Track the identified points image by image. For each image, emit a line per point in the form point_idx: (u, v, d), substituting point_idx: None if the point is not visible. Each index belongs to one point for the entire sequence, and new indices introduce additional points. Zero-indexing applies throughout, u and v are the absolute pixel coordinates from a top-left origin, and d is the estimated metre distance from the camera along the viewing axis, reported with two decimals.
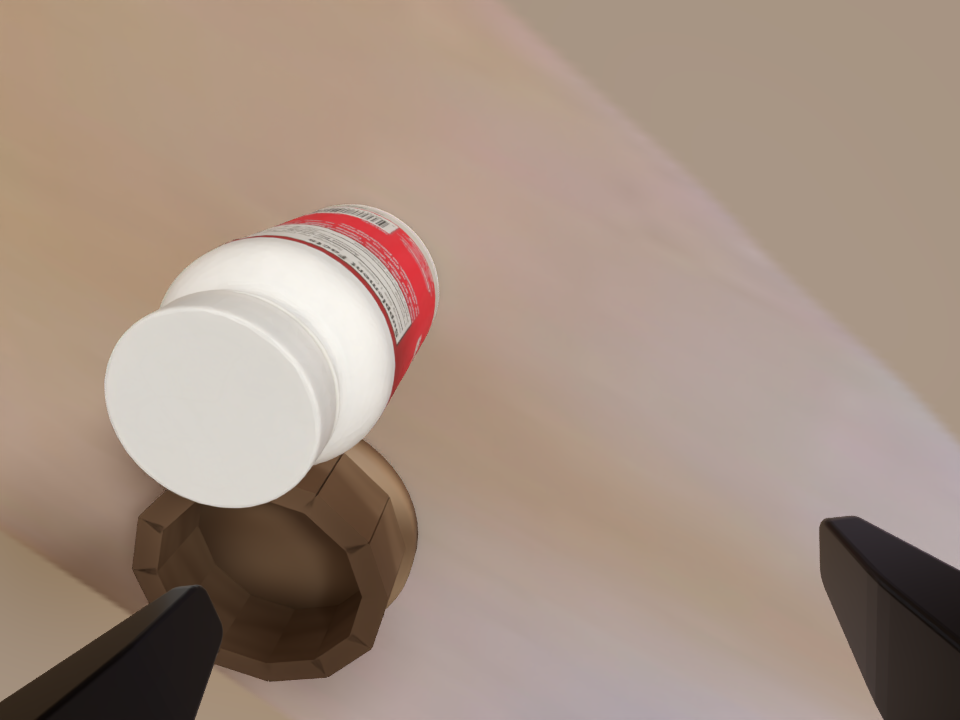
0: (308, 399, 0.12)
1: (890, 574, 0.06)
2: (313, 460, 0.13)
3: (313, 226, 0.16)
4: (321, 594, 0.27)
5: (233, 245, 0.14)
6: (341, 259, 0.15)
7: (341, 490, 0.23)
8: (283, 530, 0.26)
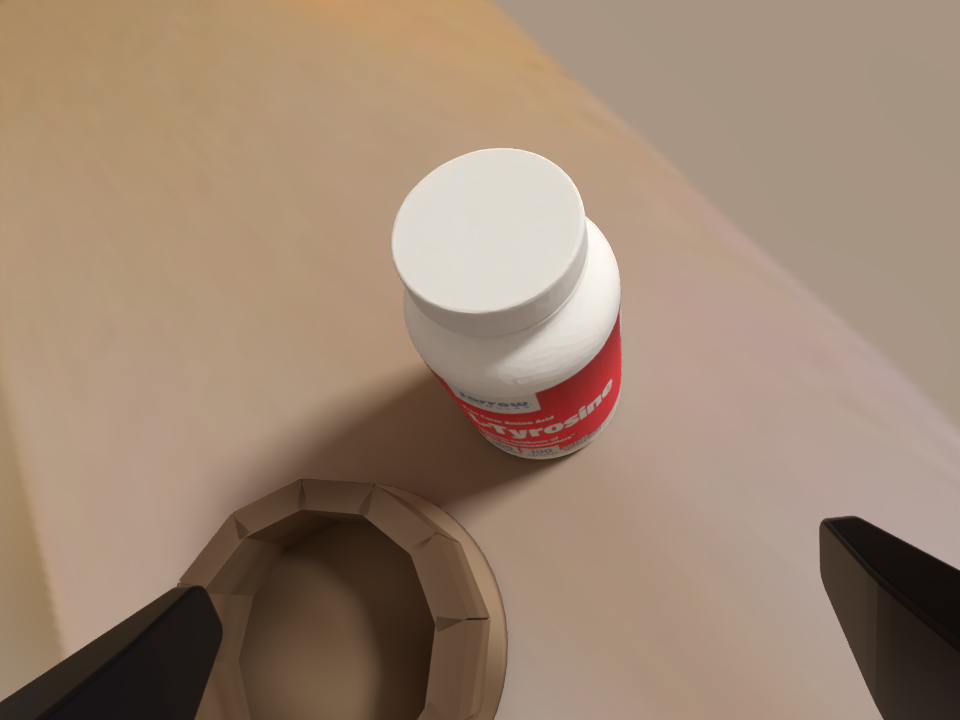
0: (578, 222, 0.13)
1: (891, 574, 0.06)
2: (558, 279, 0.13)
3: None
4: None
5: None
6: None
7: (454, 558, 0.19)
8: (344, 632, 0.21)
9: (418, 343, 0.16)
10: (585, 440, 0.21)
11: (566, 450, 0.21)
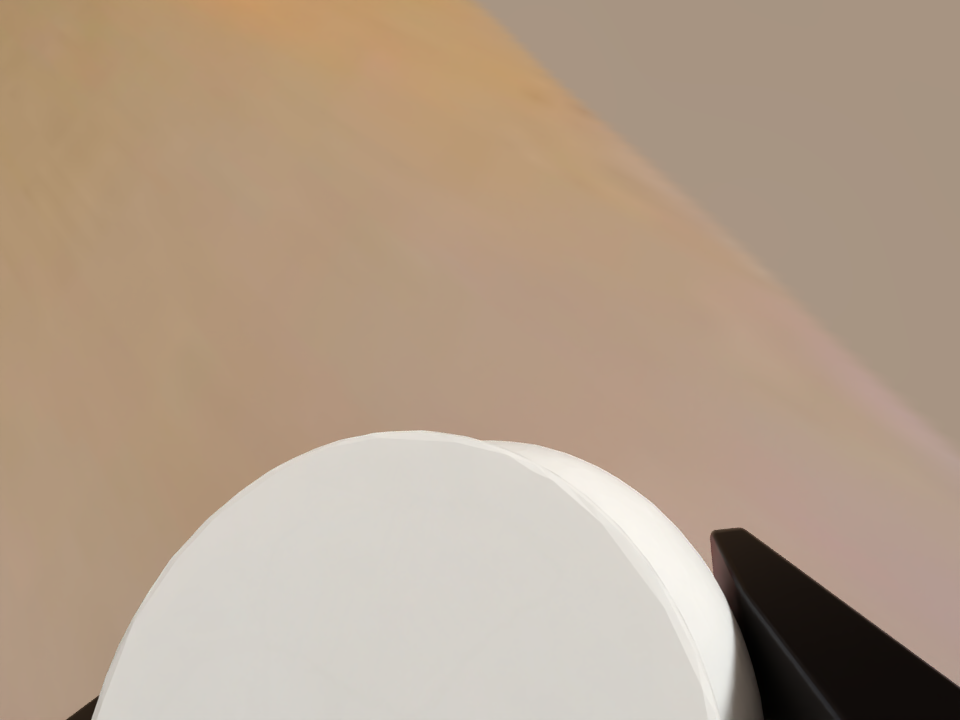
0: None
1: (753, 587, 0.06)
2: None
3: None
4: None
5: (506, 441, 0.08)
6: None
7: None
8: None
9: None
10: None
11: None
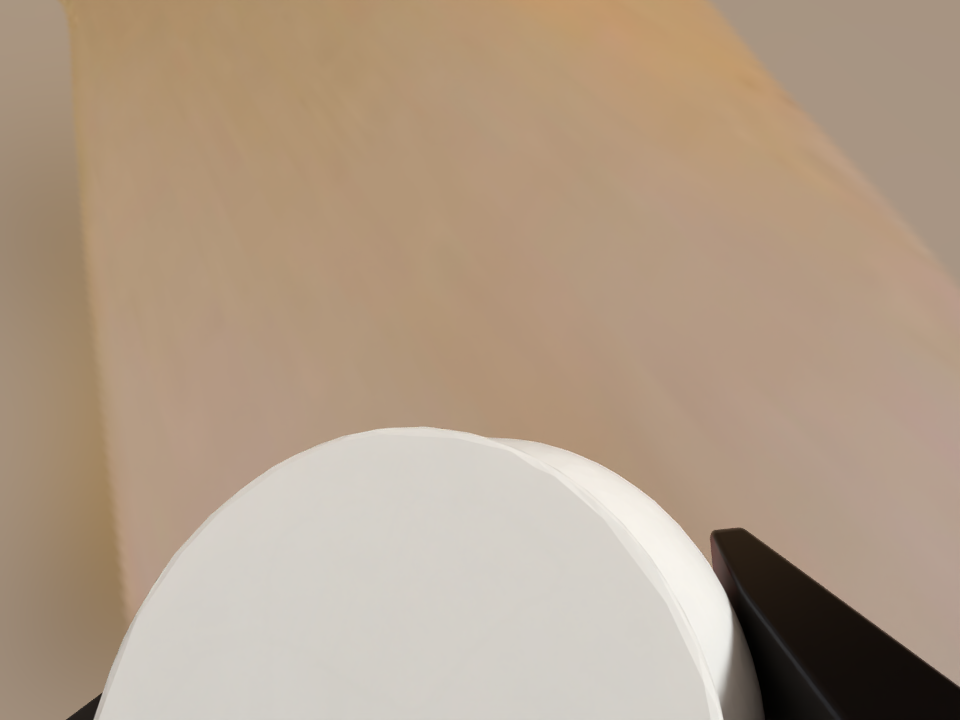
0: None
1: (753, 587, 0.06)
2: None
3: None
4: None
5: None
6: None
7: None
8: None
9: None
10: None
11: None
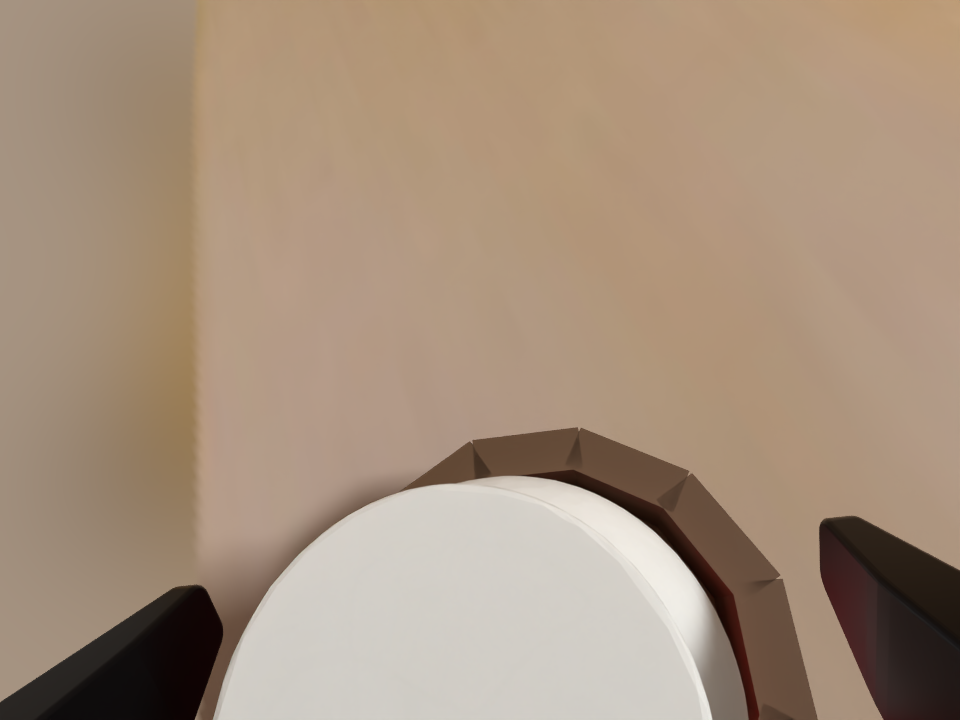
0: None
1: (891, 575, 0.06)
2: None
3: None
4: None
5: (528, 477, 0.09)
6: None
7: None
8: None
9: None
10: None
11: None
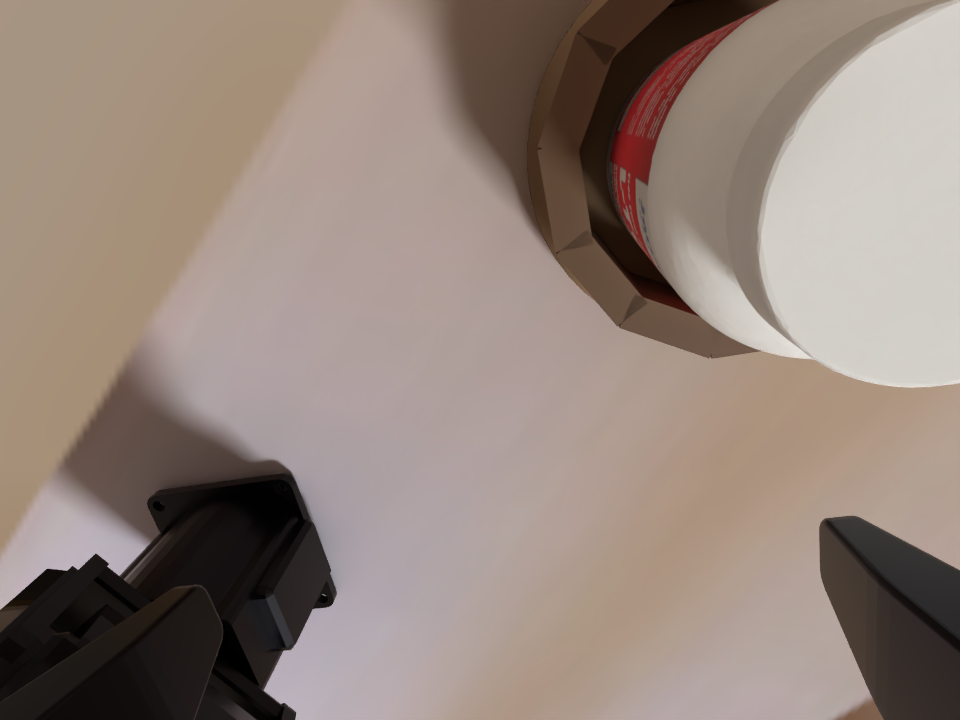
0: None
1: (890, 574, 0.06)
2: (889, 385, 0.08)
3: None
4: (605, 194, 0.18)
5: None
6: None
7: None
8: None
9: (680, 132, 0.09)
10: None
11: None
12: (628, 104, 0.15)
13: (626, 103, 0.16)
